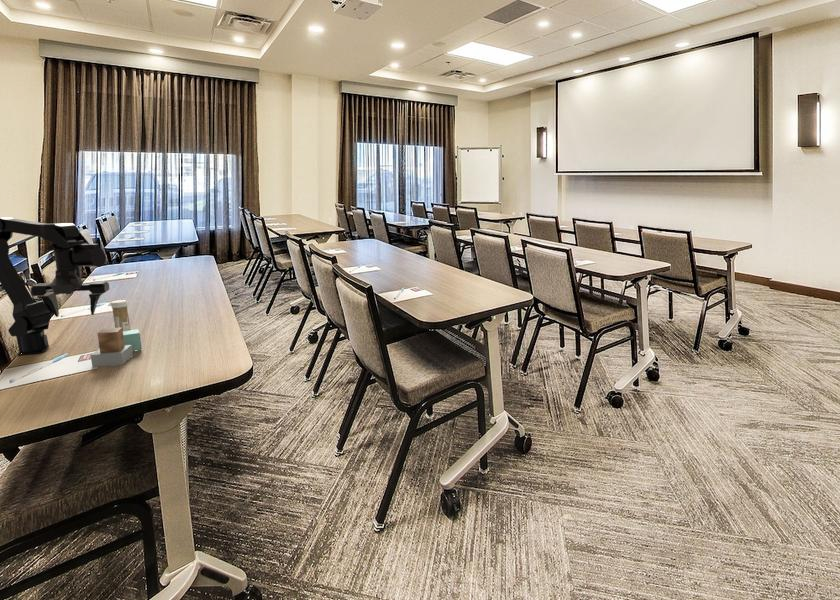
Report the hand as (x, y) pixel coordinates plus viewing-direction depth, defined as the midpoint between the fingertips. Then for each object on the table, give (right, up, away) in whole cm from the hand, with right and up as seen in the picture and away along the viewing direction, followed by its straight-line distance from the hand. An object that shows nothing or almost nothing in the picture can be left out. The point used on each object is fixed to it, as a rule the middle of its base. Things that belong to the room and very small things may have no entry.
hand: (75, 315), depth 145 cm
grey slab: (+15, -14, -4) cm, 21 cm away
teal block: (+14, -11, +6) cm, 19 cm away
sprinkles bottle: (+5, -9, +17) cm, 20 cm away
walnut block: (+15, -10, -5) cm, 19 cm away
